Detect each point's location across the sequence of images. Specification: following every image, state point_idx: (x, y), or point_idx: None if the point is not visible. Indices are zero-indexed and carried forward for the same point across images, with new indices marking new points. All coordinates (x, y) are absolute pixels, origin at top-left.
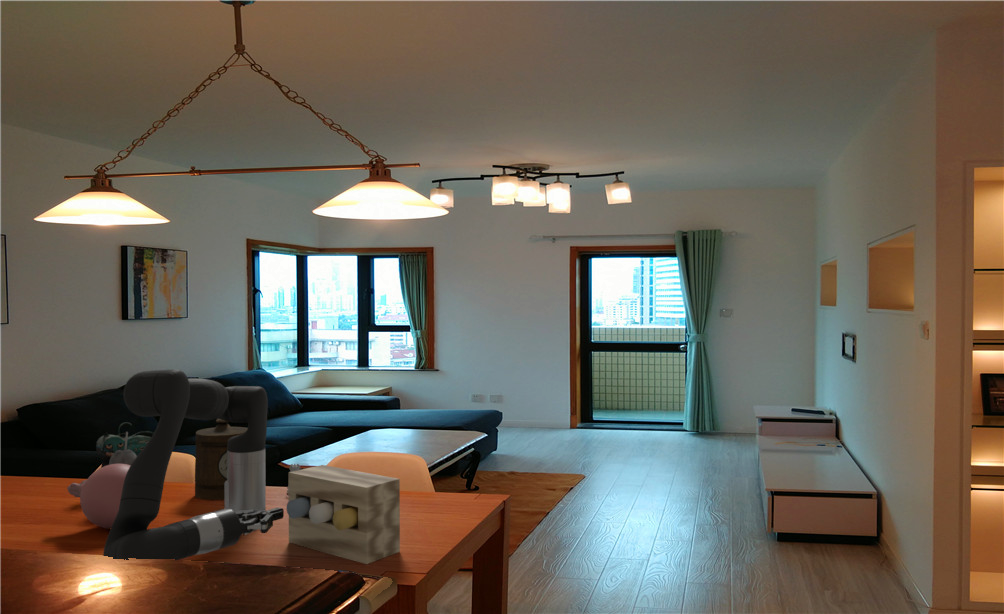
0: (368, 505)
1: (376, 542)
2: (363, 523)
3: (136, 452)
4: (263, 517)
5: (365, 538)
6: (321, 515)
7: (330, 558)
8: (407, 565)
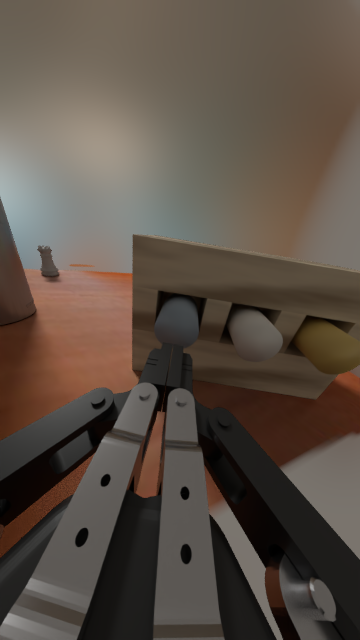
0: None
1: None
2: None
3: None
4: (155, 415)
5: None
6: (280, 346)
7: (254, 401)
8: (341, 381)
